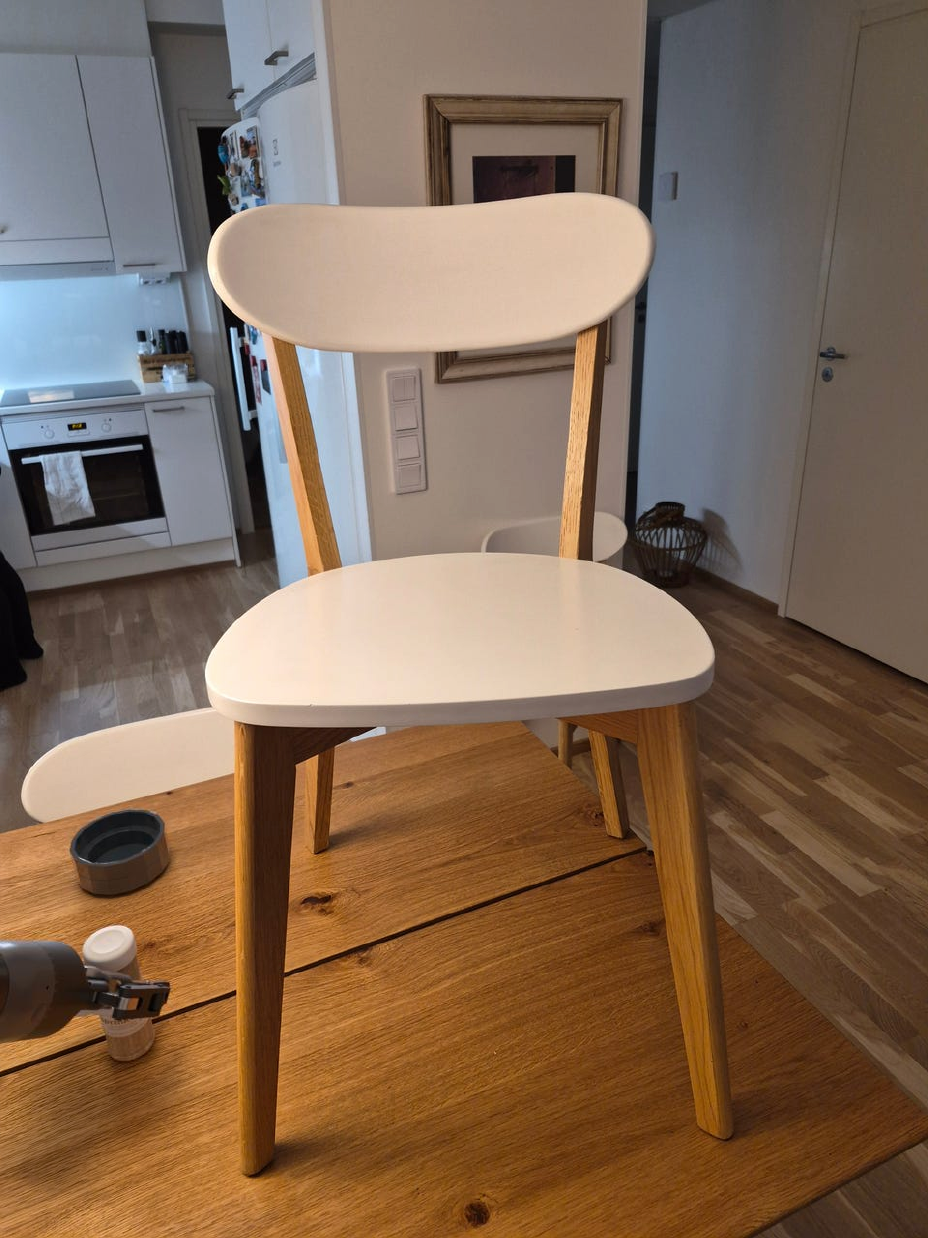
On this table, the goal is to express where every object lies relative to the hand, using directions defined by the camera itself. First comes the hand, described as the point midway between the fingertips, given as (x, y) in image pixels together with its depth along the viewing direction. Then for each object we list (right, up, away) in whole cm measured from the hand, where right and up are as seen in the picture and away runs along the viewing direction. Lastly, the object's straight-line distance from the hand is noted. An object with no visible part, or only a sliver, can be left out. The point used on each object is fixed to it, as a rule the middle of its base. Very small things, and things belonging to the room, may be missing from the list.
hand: (126, 984), depth 80 cm
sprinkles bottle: (0, -7, +2) cm, 7 cm away
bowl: (-11, +4, +26) cm, 28 cm away
